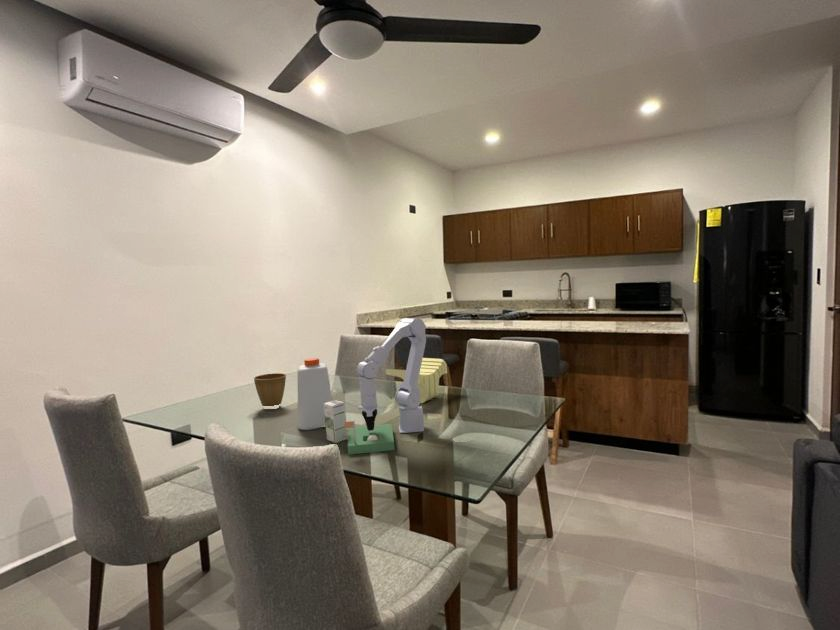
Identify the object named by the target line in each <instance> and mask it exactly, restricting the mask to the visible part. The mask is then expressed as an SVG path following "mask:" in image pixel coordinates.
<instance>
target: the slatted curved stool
mask: <svg viewBox="0 0 840 630" xmlns="http://www.w3.org/2000/svg"><path fill="white" fill-rule="evenodd" d="M405 373H406V369H395V368H393V369H392V368H385V375H387V376H388V375H389V376H393V377H397V378H401V379H402V380H403V381H404V377H405ZM445 374H448V364H447V362H446V361H445V359H442V358H432V357H430V358H429V357H423V359H422V364H421V368H420V373H419V378H418V383H417V385H418V387H419V389H420V403H421V404H424V403H426V402H427V401H428V402H429V401H430V400H433V398H436V397H438V395H439V385H440V378H441V377H442V375H445Z"/></svg>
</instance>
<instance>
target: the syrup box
mask: <svg viewBox="0 0 840 630" xmlns="http://www.w3.org/2000/svg"><path fill="white" fill-rule="evenodd" d="M345 412H346V411H345V402H344V401H339V400H332V401H329V402H327V403H324V415H325V426H326V428H325V435H326V436H325V438H326V441H327V442H330V443H333V444H337V443H341V442H343V441H345V440H344V439H346V438H347V439H348V437H347V435H348V434H347V428H345V426H344V422H346V413H345ZM347 439H346V440H347ZM342 440H343V441H342ZM340 441H341V442H340Z"/></svg>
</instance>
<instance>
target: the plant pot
mask: <svg viewBox="0 0 840 630" xmlns="http://www.w3.org/2000/svg"><path fill="white" fill-rule="evenodd" d="M286 378H287V375H286V373H279V372H278V373H273V372H272V373H266V374H260V375H257V376H254V377H253V380H254V385H255V389H256V390H255V391H256V392H257V393H256V394H257V395H258V398H259V400H260V401H259V402H260V404H261V405H262V407H263V406H274V405H279V404H282V402H283V398H284V394H285V386H286Z"/></svg>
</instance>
